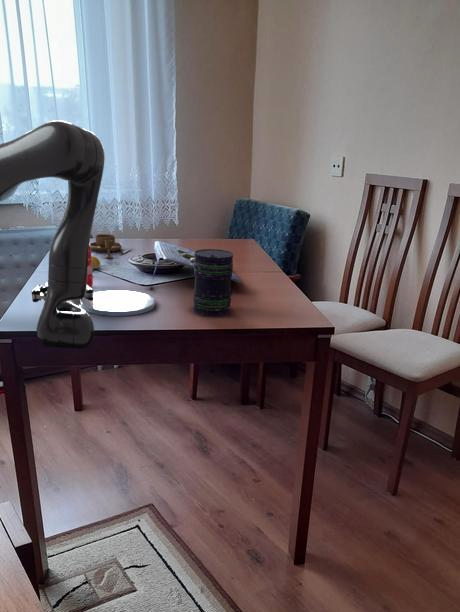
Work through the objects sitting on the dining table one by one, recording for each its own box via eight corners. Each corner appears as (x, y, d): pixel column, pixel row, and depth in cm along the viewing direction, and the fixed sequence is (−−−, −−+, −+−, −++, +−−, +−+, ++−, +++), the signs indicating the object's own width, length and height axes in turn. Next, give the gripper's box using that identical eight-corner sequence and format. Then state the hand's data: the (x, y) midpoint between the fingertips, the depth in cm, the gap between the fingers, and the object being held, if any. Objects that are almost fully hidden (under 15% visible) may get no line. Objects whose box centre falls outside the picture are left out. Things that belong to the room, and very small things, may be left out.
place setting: (134, 248, 209) (134, 232, 207) (112, 259, 192) (112, 241, 189) (91, 244, 213) (90, 228, 210) (66, 254, 195) (65, 237, 192)
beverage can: (87, 284, 162) (84, 242, 156) (96, 288, 158) (93, 245, 153) (71, 286, 158) (67, 243, 153) (80, 290, 155) (76, 247, 150)
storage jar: (196, 304, 149) (197, 247, 143) (232, 307, 149) (235, 250, 142) (190, 315, 141) (191, 255, 134) (228, 318, 140) (231, 258, 133)
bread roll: (105, 267, 181) (104, 254, 180) (86, 272, 174) (85, 259, 172) (85, 263, 185) (84, 251, 183) (66, 268, 178) (65, 255, 176)
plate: (92, 319, 134) (92, 314, 133) (72, 298, 149) (72, 293, 148) (165, 311, 142) (165, 307, 142) (140, 292, 157) (140, 288, 156)
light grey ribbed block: (141, 265, 196) (150, 233, 192) (214, 286, 204) (223, 256, 200) (150, 291, 156) (160, 251, 152) (240, 317, 164) (252, 279, 160)
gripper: (96, 286, 121) (91, 268, 135) (27, 288, 117) (29, 269, 131) (98, 320, 124) (93, 298, 139) (31, 322, 120) (32, 300, 135)
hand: (62, 284), depth 135 cm, fingers closed on sponge, 5 cm apart
